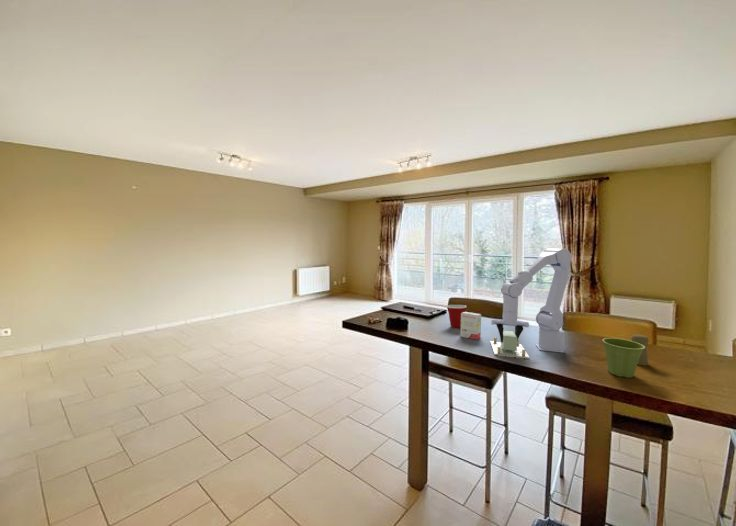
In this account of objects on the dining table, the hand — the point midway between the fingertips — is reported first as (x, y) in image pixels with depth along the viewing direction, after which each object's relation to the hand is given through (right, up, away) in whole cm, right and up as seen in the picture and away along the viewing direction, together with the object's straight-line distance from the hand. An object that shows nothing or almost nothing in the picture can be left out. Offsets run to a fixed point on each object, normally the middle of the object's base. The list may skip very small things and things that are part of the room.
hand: (508, 342), depth 135 cm
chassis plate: (0, -4, 0) cm, 4 cm away
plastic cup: (-12, -1, +37) cm, 39 cm away
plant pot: (+30, -6, -23) cm, 38 cm away
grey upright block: (+45, -5, -12) cm, 47 cm away
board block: (0, -2, +1) cm, 2 cm away
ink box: (-10, -3, +19) cm, 22 cm away
